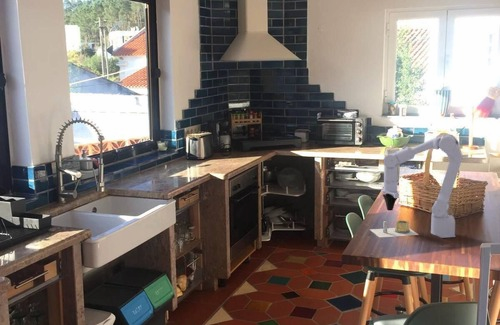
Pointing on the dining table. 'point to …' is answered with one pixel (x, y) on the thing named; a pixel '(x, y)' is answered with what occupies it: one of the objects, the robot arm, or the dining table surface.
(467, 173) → the dining table surface
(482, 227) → the dining table surface
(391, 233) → the assembly board
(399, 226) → the brass collar
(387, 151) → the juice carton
